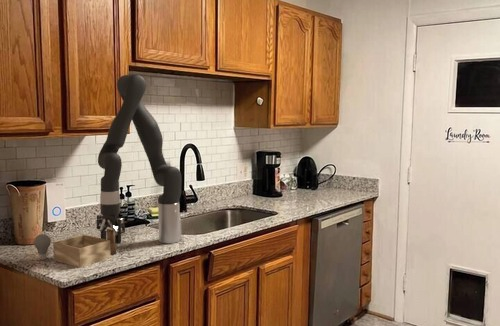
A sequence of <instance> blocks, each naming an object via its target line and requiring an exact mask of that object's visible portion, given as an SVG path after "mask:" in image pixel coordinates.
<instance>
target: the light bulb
mask: <svg viewBox="0 0 500 326" xmlns="http://www.w3.org/2000/svg"><path fill="white" fill-rule="evenodd" d="M51 241H52V240H51V238H50V236H49V235H48V234H45V233H41V234H38V235H37V236H36V237H35V238H34V240H33V245H34V247H35V249H36V250H37V253H38V257H39V260H41V261H44V260H46V259H47V256H48V255H47V253H48V249H49V247H50V245H51V243H52V242H51Z"/></svg>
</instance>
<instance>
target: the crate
mask: <svg viewBox="0 0 500 326" xmlns="http://www.w3.org/2000/svg"><path fill="white" fill-rule="evenodd" d="M52 244H53V245H52V247H53V260H54V261H56V262H60V263H64V264H67V265H69V266H70V265H71V266H73V267H78V268H83V267H87V266H90V265H92V263H93V264H95V263H99V262H103V261H105V259H106V260H109V259H111V257H112V255H111V252H110V240H107V238H106V239H102V238H101V237H97V236H92V235H87V234H80V235H78V236H77V235H76V236H73V237H69V238H65V239H60V240H57V241H53V242H52ZM108 258H109V259H108Z"/></svg>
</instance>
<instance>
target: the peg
mask: <svg viewBox="0 0 500 326" xmlns="http://www.w3.org/2000/svg"><path fill="white" fill-rule="evenodd" d="M115 235H116V234H115V232H114V230H112V228H107V229H106V240H110V252H111V256H113V255H114V254H115V255H116V254H117V244H116V243H115Z"/></svg>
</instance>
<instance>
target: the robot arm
mask: <svg viewBox="0 0 500 326" xmlns="http://www.w3.org/2000/svg"><path fill="white" fill-rule="evenodd" d="M116 88H117V91H118V94H119V96H120V98H121V100H122V105H121V106H120V108H119V109H118V111H117V113H116V114H115V116H114V118H113V120H112V122H111V124H110V126H109V128H108V129H109V130H108V132H107V137H106V140H105V142H104V143H103V145H102V147H101V148H100V150H99V153H98V156H97V163H98V164H97V165H98V166H99V167H100V168H101V169H103V170H104V174H103V176H102V177H101V178H100V196H99V201H100V203H99V205H100V213H99V214H97V215H96V230H99V232H100V238H102V239H106V240H107V229H108V228H109V229H111V228H112V230H114V232H115V234H116V235H115V243H116V245H119V244H121V243H122V234H125V233H126V224H125V223H126V222H125V217H119V214H120V213H121V196H120V178H121V177H120V176H121V172H122V166H123V165H122V164H123V163H122V157H121V156H120V154H118V152H119V150H120V149H121V148H123V147H124V146H125V142H126V138H127V137H128V131H129V129H130V126H131V122H133V125H134V128H135V130H136V132H137V136H138V139H139V140H140V143H141V144H142V147H143V150H144V152H145V154H146V157H147V160H148V162H149V166H150V169H151V173H152V176H153V179H154V181H155V183H156V184H157V185H158V186H160V187H163V191H162V194H161V195H158V196H157V203H158V204H157V205H158V206H157V208H158V209H157V210H158V211H157V213H158V214H157V215H158V218H157V219H158V242H159V243H162V244H176V243H178V242H180V241H182V218H181V217H180V200H181V199H180V198H181V195H182V173H181V170H180V169H179V168H178V167H175V166H171V165H168V164H167V162H166V159H165V157H164V154H163V144H164V143H163V142H164V140H163V139H164V138H163V134H162V132H161V130H160V126H159V124H158V122H157V120H156V119H155V117H154V116H153V115H152V114H151V113H150V111H149V110H148V109H147V107H146V106H145V105H144V103H143V100H142V99H143V97H144V94H145V92H146V90H147V83H146V80H145V78H144V77H143V76H142V75H140V74H135V73H133V74H124V75H121V76H120V77H119V78H118V79H117V82H116Z"/></svg>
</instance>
